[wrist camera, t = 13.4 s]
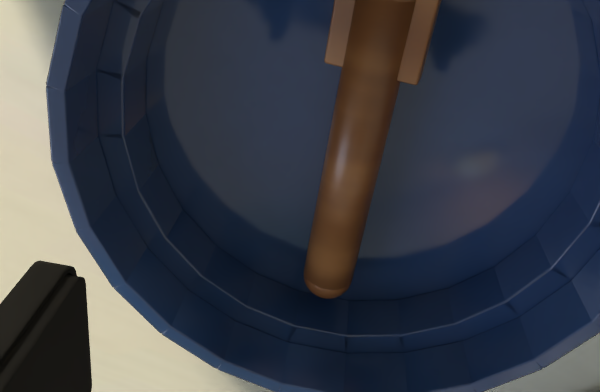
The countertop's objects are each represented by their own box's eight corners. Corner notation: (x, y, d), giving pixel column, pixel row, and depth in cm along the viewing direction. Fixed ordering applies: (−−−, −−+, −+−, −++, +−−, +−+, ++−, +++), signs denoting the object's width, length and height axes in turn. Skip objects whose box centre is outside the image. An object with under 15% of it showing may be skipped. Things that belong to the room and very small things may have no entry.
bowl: (107, -238, 17) (17, -276, 13) (757, -126, 17) (894, -126, 12) (115, 274, 26) (65, 353, 22) (527, 352, 26) (559, 447, 22)
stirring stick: (356, -70, 18) (339, -66, 17) (456, -50, 18) (449, -45, 16) (295, 268, 25) (279, 294, 23) (366, 291, 24) (355, 320, 23)
